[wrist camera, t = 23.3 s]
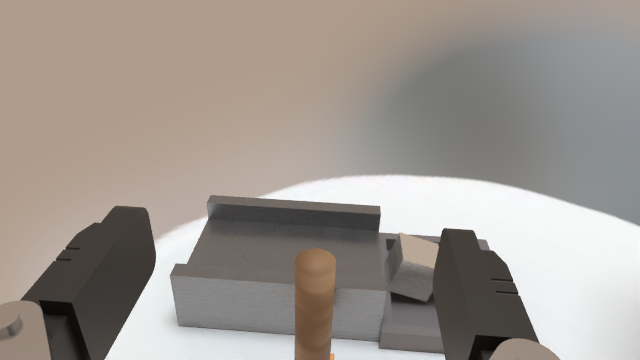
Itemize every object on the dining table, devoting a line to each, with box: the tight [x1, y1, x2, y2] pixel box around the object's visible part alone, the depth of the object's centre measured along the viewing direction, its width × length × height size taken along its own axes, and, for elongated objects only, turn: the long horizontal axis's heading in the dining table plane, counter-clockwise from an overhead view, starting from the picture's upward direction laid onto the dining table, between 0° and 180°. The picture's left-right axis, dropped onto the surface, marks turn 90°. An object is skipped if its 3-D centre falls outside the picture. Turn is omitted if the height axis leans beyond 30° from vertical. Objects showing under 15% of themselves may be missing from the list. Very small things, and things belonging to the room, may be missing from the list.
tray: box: [379, 233, 490, 353], centre depth 46 cm, size 12×14×2 cm
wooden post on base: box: [295, 248, 336, 360], centre depth 31 cm, size 3×6×15 cm, turn 176°
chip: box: [384, 233, 439, 301], centre depth 44 cm, size 4×4×4 cm
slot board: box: [170, 195, 386, 341], centre depth 45 cm, size 18×12×6 cm
